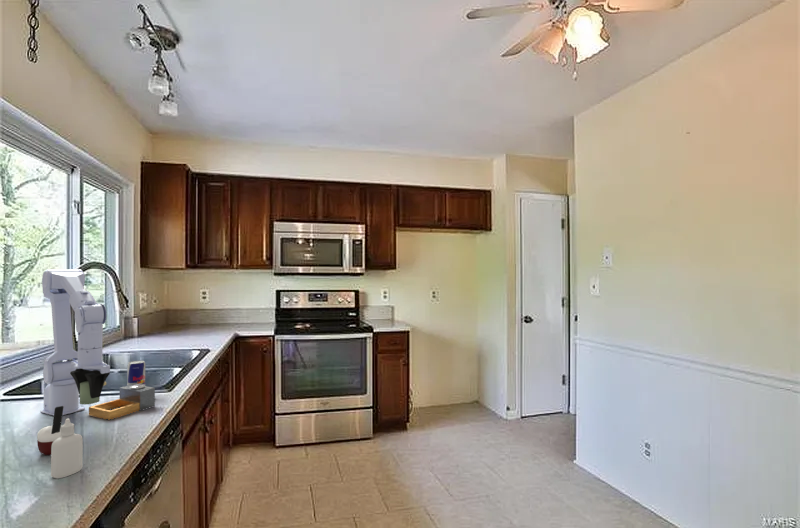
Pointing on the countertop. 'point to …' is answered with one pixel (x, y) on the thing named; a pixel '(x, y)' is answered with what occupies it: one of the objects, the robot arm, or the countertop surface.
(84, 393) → the spout can
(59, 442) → the eye dropper bottle
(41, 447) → the cocoa
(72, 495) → the countertop surface
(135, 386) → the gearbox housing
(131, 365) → the energy drink
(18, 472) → the countertop surface
